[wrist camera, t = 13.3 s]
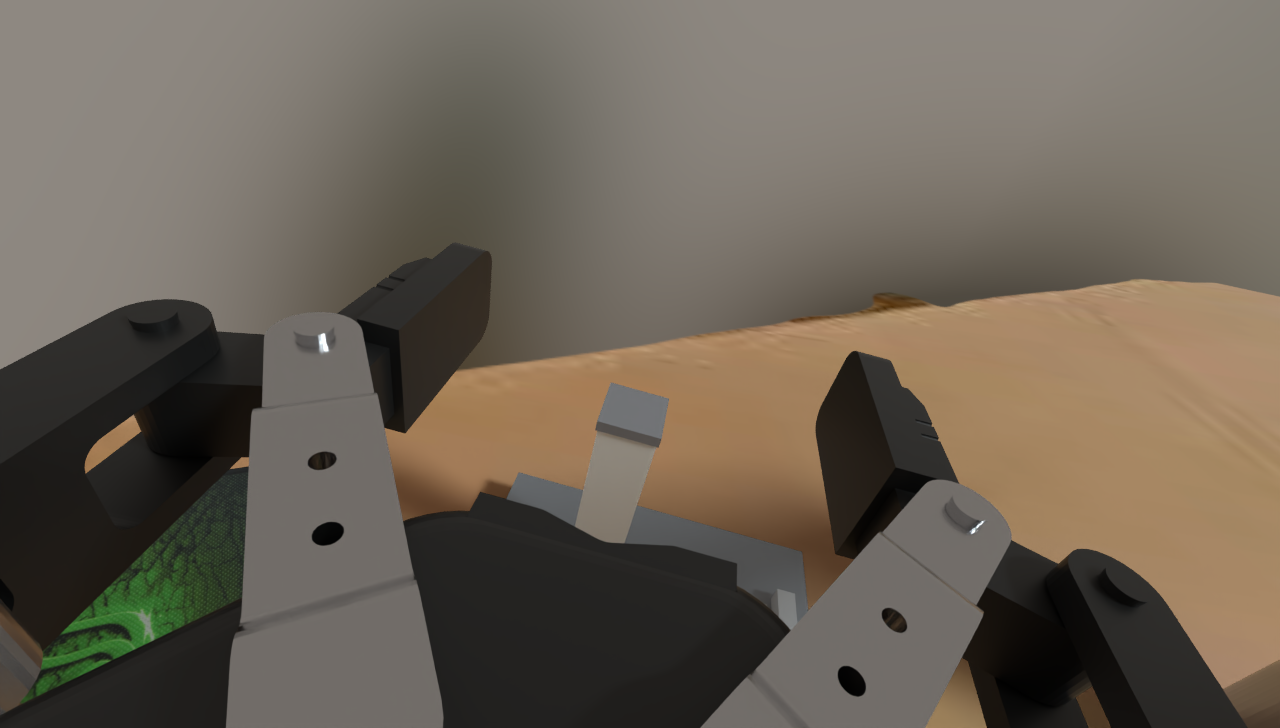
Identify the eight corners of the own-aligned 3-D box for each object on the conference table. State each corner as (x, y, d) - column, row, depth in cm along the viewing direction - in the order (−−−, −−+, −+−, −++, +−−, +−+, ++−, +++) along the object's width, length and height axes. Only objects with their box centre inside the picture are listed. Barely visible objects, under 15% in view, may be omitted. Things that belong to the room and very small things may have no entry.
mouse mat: (-159, 527, 30) (-171, 515, 30) (298, 460, 40) (296, 450, 40) (-914, 1546, 12) (-986, 1570, 11) (284, 950, 22) (280, 946, 21)
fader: (619, 549, 36) (669, 398, 28) (609, 592, 34) (661, 438, 26) (574, 536, 36) (611, 382, 28) (560, 578, 34) (597, 421, 26)
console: (789, 570, 41) (808, 542, 39) (803, 747, 32) (829, 722, 29) (516, 494, 42) (520, 461, 39) (445, 646, 32) (445, 613, 30)
